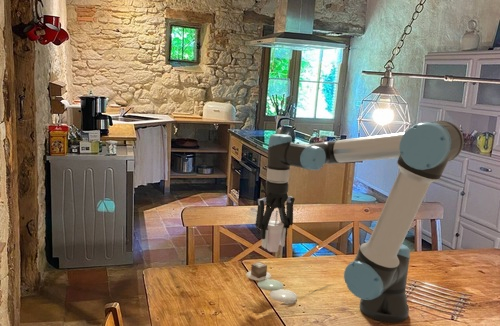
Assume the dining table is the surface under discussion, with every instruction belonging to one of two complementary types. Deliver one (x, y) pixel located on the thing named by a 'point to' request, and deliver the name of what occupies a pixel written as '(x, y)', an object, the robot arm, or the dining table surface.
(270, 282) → the saucer mid
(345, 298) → the dining table surface
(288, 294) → the saucer near
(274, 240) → the smoothie
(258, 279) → the saucer far
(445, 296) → the dining table surface
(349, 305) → the dining table surface
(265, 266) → the letter cube
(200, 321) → the dining table surface
